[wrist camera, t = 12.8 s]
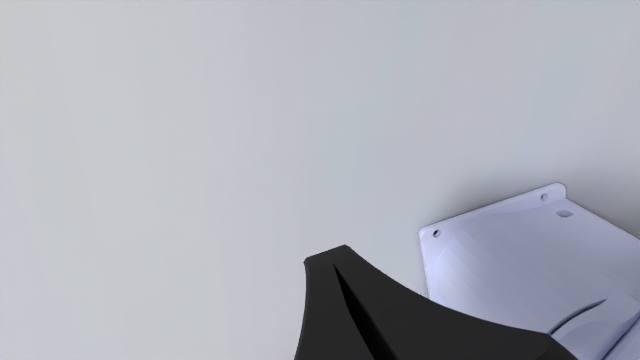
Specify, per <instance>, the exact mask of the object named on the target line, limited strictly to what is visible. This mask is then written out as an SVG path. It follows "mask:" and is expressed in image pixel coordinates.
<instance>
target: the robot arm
mask: <svg viewBox="0 0 640 360" xmlns="http://www.w3.org/2000/svg"><path fill="white" fill-rule="evenodd" d="M543 194H544V195H543ZM542 195H543V197H542V198H541V196H542ZM436 230H438V232H437V233H436V234H434V235H433V233H434V231H436ZM419 240H420V246H421V252H422V258H423V264H424V270H425V276H426V282H427V288H428V294H429V299H427V298H425V297H423V296H421V295H419V294H417V293H416V292H414V291H412V290H410V289H408V288H407V287H405V286H403V285H401V284H400V283H398V282H396V281H395V280H393V279H392V278H390V277H389V276H387V275H386V274H384V273H383V272H381V271H380V270H378V269H377V268H375V267H374V266H373V265H371V264H370V263H369V262H367V261H366V260H365V259H363V258H362V257H361V256H359V255H358V254H357V253H356V252H355V251H354V250H352V249H351V248H350V247H349V246H347V245H342V246H339V247H336V248H333V249H330V250H328V251H325V252H322V253H319V254H316V255H313V256H310V257H307V258H306V259H305V261H304V265H305V270H306V299H305V310H304V316H303V323H302V329H301V334H300V339H299V343H298V347H297V351H296V354H295V358H294V360H640V240H639V239H638V238H636V237H634V236H632V235H631V234H629V233H627V232H625V231H623V230H622V229H620V228H618V227H616V226H614V225H613V224H611V223H609V222H607V221H606V220H604V219H602V218H600V217H598V216H597V215H595V214H593V213H591V212H589V211H588V210H586V209H584V208H582V207H581V206H579V205H577V204H575V203H573V202H572V201H570V200H568V199H566V187H565V186H564V185H563V184H561V183H553V184H551V185H548V186H545V187H542V188H539V189H536V190H533V191H530V192H527V193H524V194H521V195H518V196H515V197H512V198H509V199H506V200H503V201H500V202H497V203H494V204H491V205H488V206H485V207H482V208H479V209H476V210H473V211H470V212H467V213H464V214H461V215H458V216H456V217H453V218H450V219H447V220H444V221H441V222H438V223H435V224H432V225H429V226H426V227H424V228H422V229H421V230H420V233H419Z"/></svg>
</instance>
